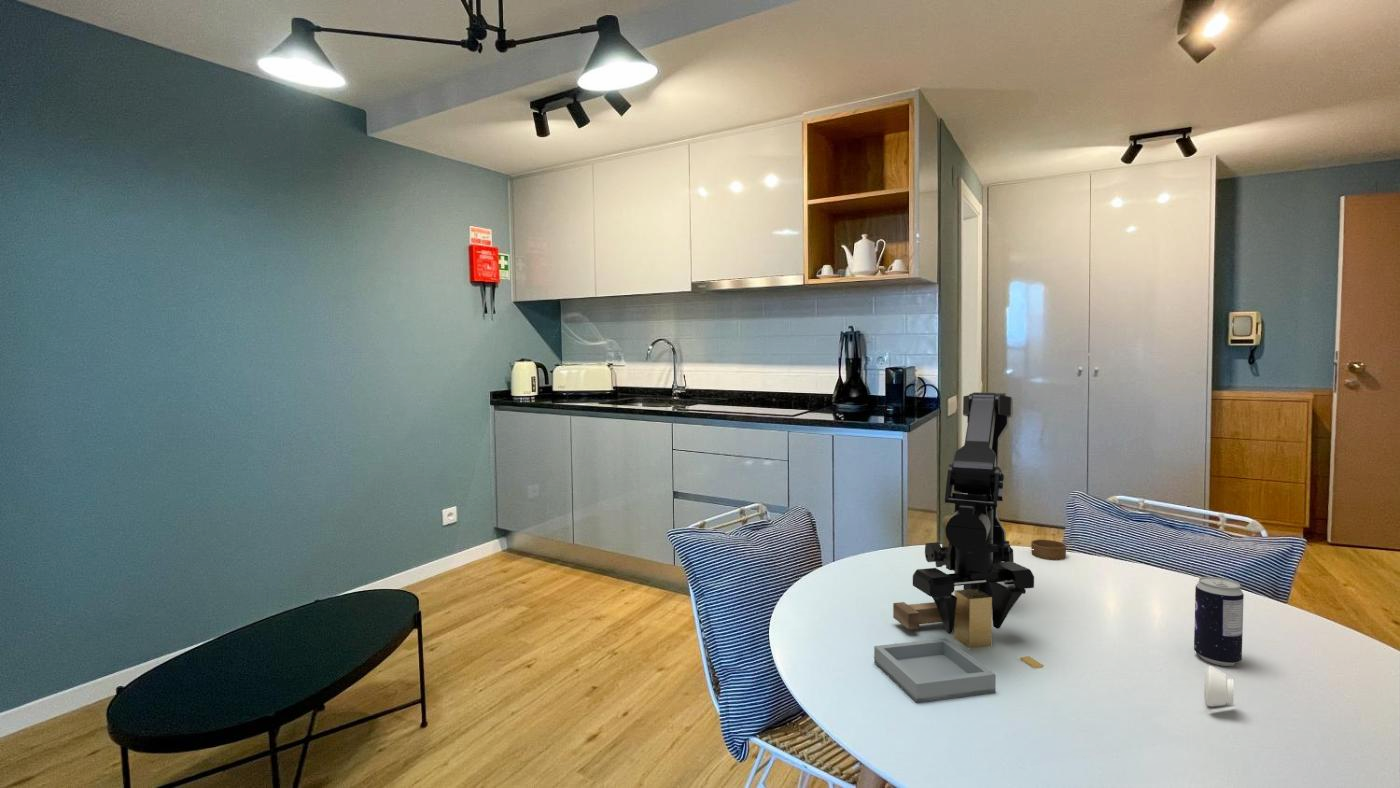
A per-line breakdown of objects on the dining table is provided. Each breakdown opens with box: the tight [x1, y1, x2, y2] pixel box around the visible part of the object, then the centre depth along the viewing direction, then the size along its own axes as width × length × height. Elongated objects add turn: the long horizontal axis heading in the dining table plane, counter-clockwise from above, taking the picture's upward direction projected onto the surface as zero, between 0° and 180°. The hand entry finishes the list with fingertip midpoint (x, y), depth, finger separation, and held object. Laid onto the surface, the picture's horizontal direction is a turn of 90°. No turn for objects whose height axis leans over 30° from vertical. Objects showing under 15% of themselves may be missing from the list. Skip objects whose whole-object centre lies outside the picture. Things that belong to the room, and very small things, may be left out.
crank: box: [892, 601, 943, 630], centre depth 112 cm, size 16×5×3 cm, turn 102°
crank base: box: [1019, 655, 1044, 669], centre depth 106 cm, size 6×20×1 cm, turn 12°
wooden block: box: [953, 589, 993, 650], centre depth 105 cm, size 4×4×8 cm
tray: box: [873, 637, 997, 704], centre depth 94 cm, size 12×12×3 cm
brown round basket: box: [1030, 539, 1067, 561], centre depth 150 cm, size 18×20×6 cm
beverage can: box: [1193, 576, 1245, 667], centre depth 98 cm, size 6×6×12 cm
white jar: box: [1203, 665, 1235, 708], centre depth 85 cm, size 5×3×5 cm, turn 141°
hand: (972, 630), depth 105 cm, fingers open, 8 cm apart
